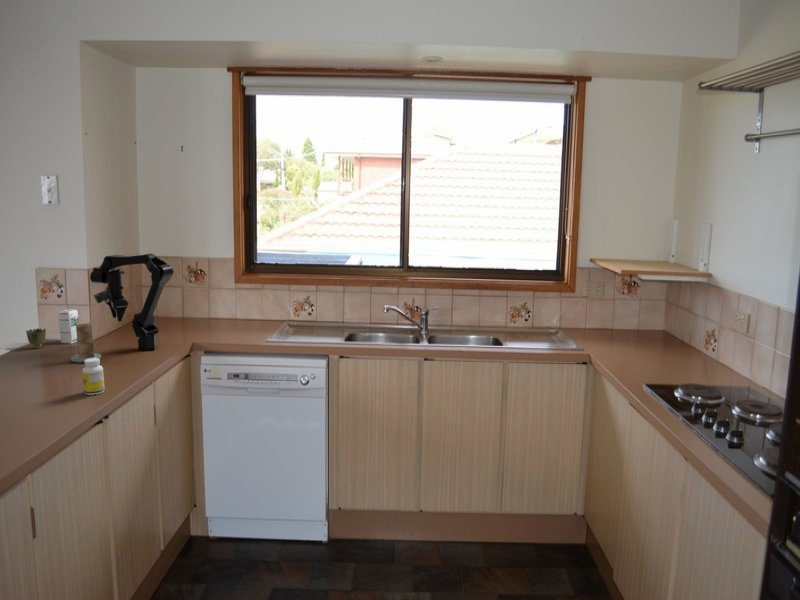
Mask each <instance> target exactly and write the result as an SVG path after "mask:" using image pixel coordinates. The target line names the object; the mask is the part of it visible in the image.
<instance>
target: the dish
mask: <svg viewBox="0 0 800 600" xmlns="http://www.w3.org/2000/svg"><path fill="white" fill-rule="evenodd" d="M90 358H98V359H100V360H101V359H102V354H100V353H97V352H94V357H90ZM90 358H83V359H80V357H79V356H78V354H75V355H73V356H71V357H70V359H71V362H73V363H81V364H82V362H83V363H85V360H86V359H90Z"/></svg>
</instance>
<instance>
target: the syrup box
mask: <svg viewBox="0 0 800 600" xmlns="http://www.w3.org/2000/svg"><path fill="white" fill-rule="evenodd" d="M57 315H58V316H57V317H58V323H59V325H58V326H59V334H60V335H59V336H60V343H61V344H67V343H68V344H70V345H72V344H75V343H77V332H76V325H78V324H80V323H79V313H78V309H72V308H71V309H69V310H68V309H65V310H62V311H58V312H57Z"/></svg>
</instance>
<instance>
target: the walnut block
mask: <svg viewBox="0 0 800 600" xmlns="http://www.w3.org/2000/svg"><path fill="white" fill-rule="evenodd" d="M76 332H77V342H76V343H77V355H78V356H79V357H80V359H83V358H90V357H94V353H95V350H94V337H93V336H94V335H93V326H92V324H91V323H89V322H88V323H79V324H78V325H76Z"/></svg>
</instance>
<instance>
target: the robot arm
mask: <svg viewBox="0 0 800 600" xmlns="http://www.w3.org/2000/svg"><path fill="white" fill-rule="evenodd" d="M141 264H144V265H145V266H146V268H147V271H148V272H149V273H151V274H150V275H151V276H150V277H151V285H150V288H149V290H148V293H147V296H146V298H145V301H144V303H143V306H142V310H141V312H140V311H139V312H137V313H135V314H134V315H133V319H132V320H131V323H132V324H131V327H132V328H133V331H134V334H135V337H137V347H138V351H139V352H141V351H142V352H143V351H144V352H145V351H149V350H150V351H151V352H153V351H155V350H156V349H157V348H158V345H157V336H156V334H159V330H160V329H159V328H158V327H157V325H156V324H155V317H154V313H155V310H156V308H157V305H158V303H159V301H160V298H161V294H162V292H163V291H164V287H165V286H166V285H167V284H168V282H170V280H171V278H172V277H173V275H174V269H173V267H172V265H170V264H168V262H166V261H165V260H163V259H160V258H159V257H157V255H155V254H154V253H145V254H139V255H138V254H137V255H128V256H127V255H123V254H112V255H107V256H105V257H104V258H103V261H102V263H101V265H100V266H99V267H98V266H96V267H93V268H92V271H91V273H90V275H89V280H90V281H91V283H93V284H103V285H104V284H105V285H106V284H107V285H106V287H105V290H102V291H100V292H97V293H95V294H93V298H94V300H95V302H96V303H97V304H101V303H102V302H104V304H106V305H107V306H109V307H108V308H109V309H110V313H111V316H112V318H113V319H116V318H117V322H122V320H123V317H124V315H125V313H126V311H127V308H128V307H129V300H127V299H126V298H125V297H124V295H123V290H124V286H123V285H122V284H123V283H122V275H125V274H126V272H125V271H124V270H123V268H122V267H125V266H132V265H141Z"/></svg>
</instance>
